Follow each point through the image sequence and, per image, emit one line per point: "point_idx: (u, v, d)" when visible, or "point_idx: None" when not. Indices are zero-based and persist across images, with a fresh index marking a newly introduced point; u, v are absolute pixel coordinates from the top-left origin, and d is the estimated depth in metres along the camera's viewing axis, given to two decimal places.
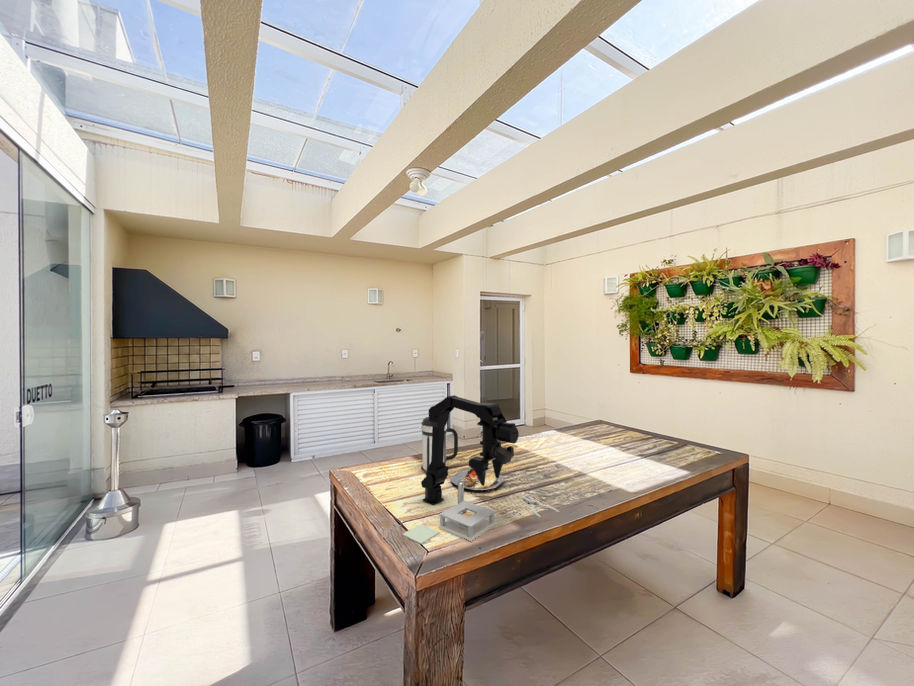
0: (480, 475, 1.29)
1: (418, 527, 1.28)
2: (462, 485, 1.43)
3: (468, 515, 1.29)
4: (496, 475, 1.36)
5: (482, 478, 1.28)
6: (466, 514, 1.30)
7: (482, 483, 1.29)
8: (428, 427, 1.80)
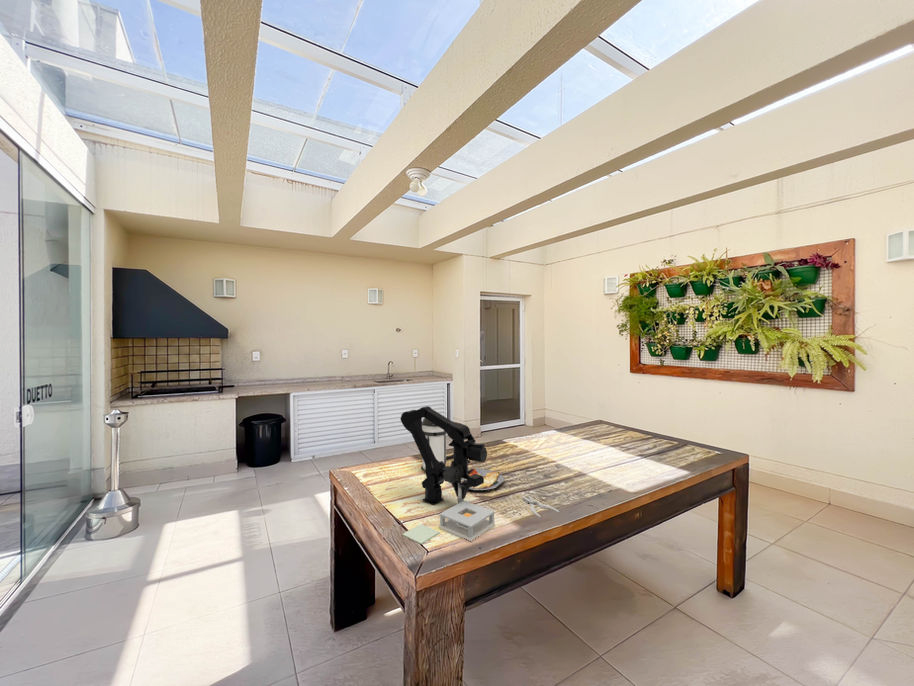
0: None
1: (418, 527, 1.28)
2: None
3: (468, 515, 1.29)
4: None
5: None
6: (466, 514, 1.30)
7: None
8: (428, 427, 1.80)
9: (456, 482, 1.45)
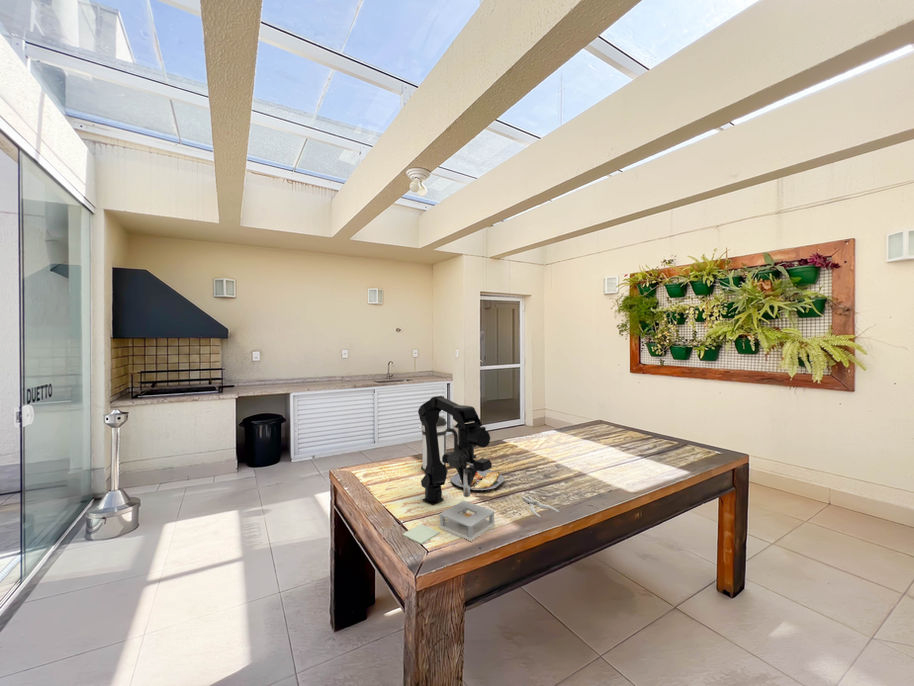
0: None
1: (418, 527, 1.28)
2: None
3: (468, 515, 1.29)
4: None
5: None
6: (466, 514, 1.30)
7: None
8: None
9: (461, 468, 1.34)
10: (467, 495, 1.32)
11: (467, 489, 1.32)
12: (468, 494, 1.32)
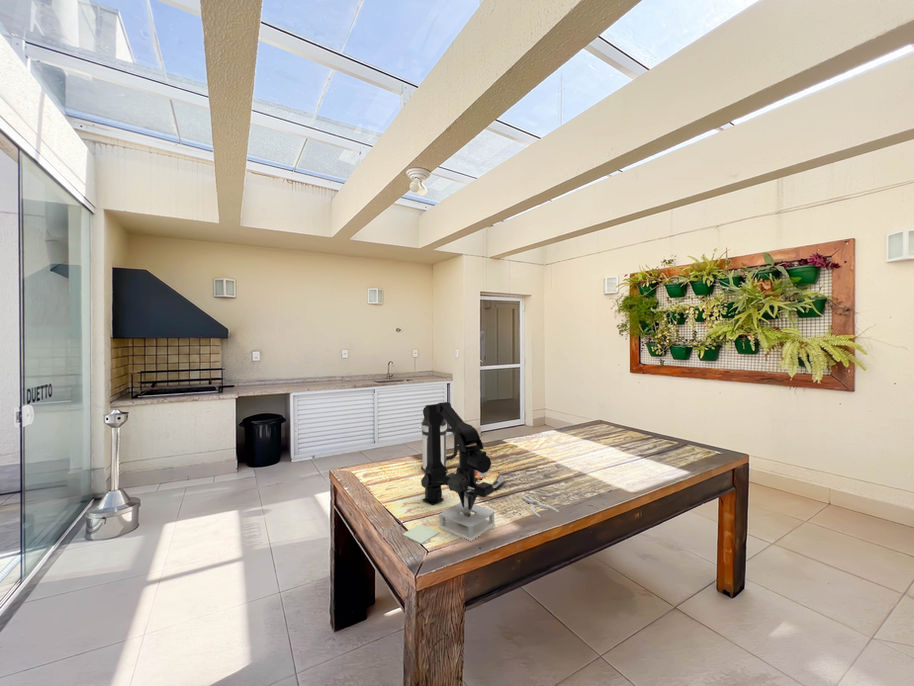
0: None
1: (418, 527, 1.28)
2: None
3: None
4: None
5: None
6: None
7: None
8: None
9: (462, 491, 1.30)
10: None
11: (468, 513, 1.29)
12: None
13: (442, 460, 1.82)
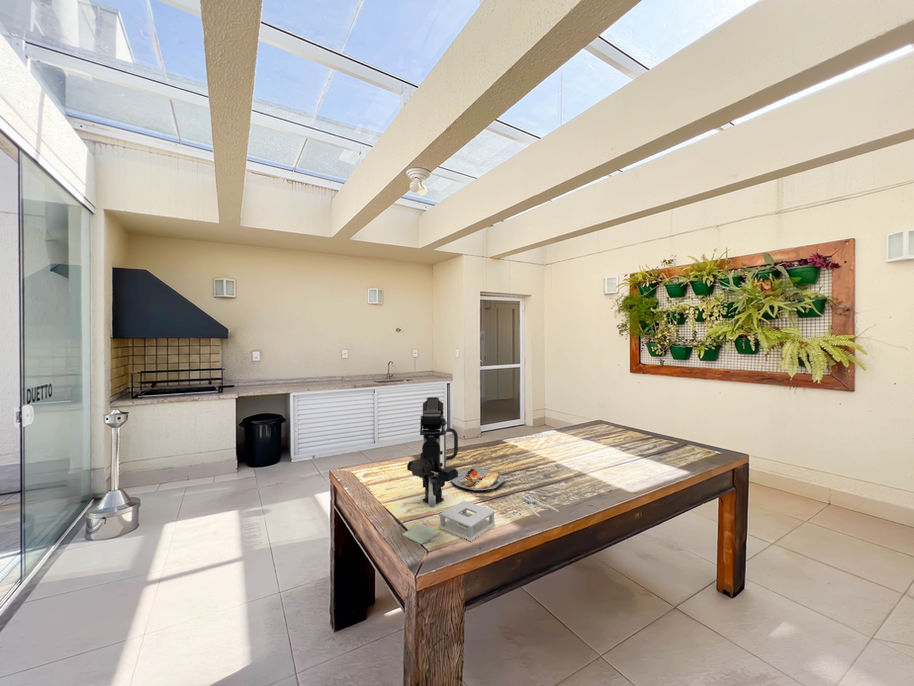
0: None
1: (418, 527, 1.28)
2: None
3: None
4: None
5: None
6: None
7: None
8: None
9: (427, 477, 1.26)
10: (432, 506, 1.24)
11: (432, 499, 1.24)
12: (433, 504, 1.25)
13: (442, 460, 1.82)
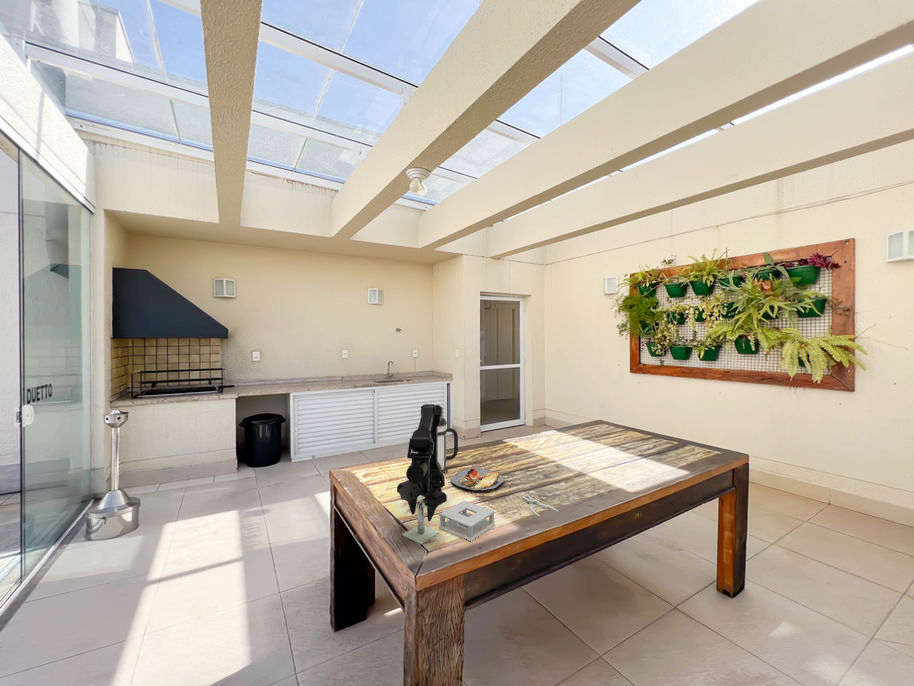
0: None
1: None
2: (422, 506, 1.24)
3: None
4: None
5: None
6: None
7: None
8: None
9: None
10: (421, 532, 1.23)
11: (421, 526, 1.24)
12: (422, 531, 1.24)
13: (442, 460, 1.82)
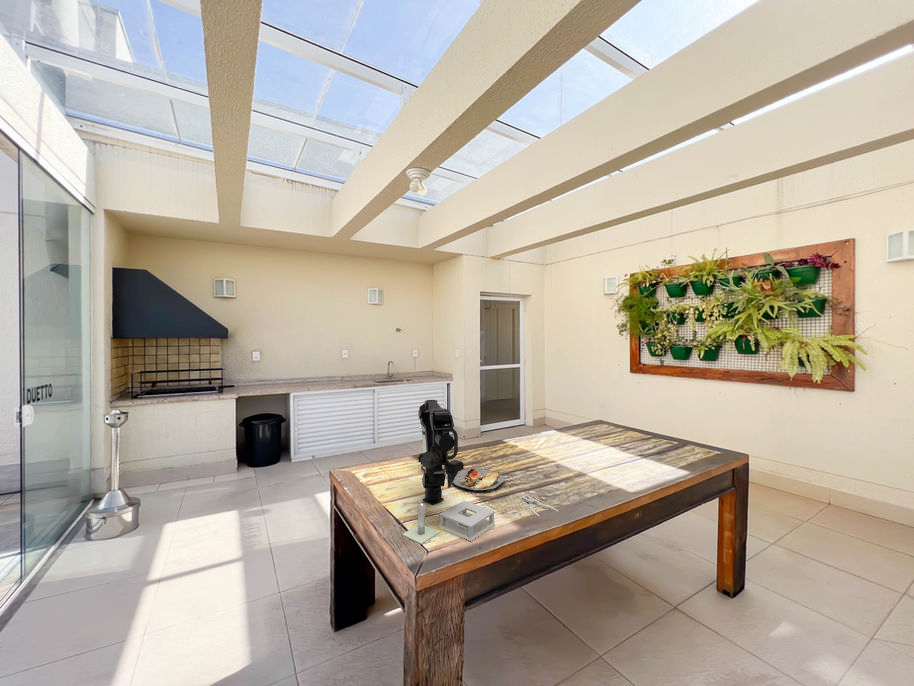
0: None
1: None
2: (423, 507, 1.24)
3: None
4: None
5: None
6: None
7: None
8: None
9: None
10: (421, 532, 1.23)
11: (421, 526, 1.23)
12: (422, 531, 1.24)
13: None
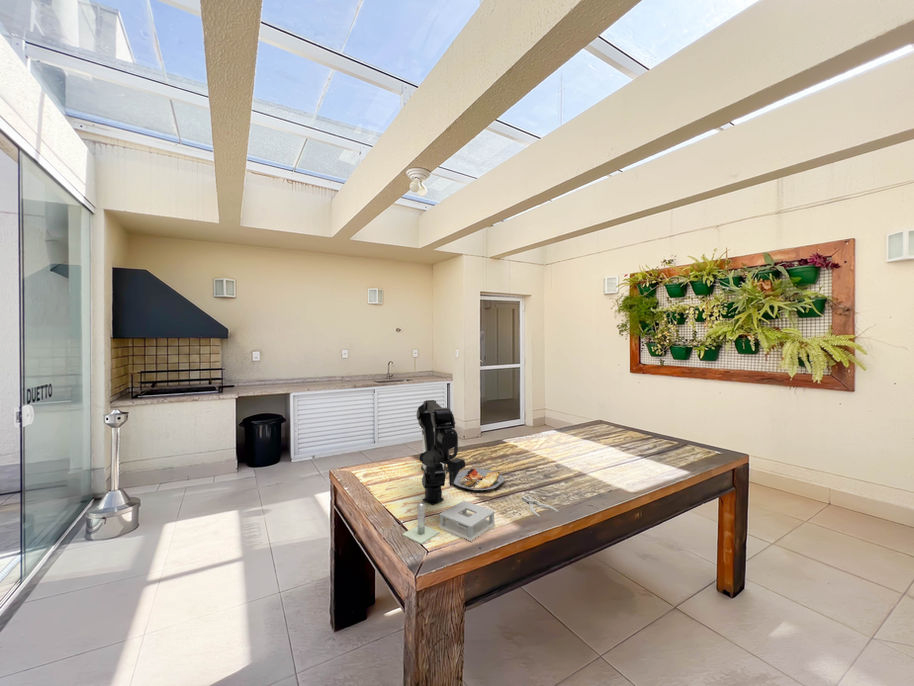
0: None
1: None
2: (423, 507, 1.24)
3: None
4: None
5: None
6: None
7: None
8: None
9: None
10: (421, 533, 1.23)
11: (421, 526, 1.23)
12: (422, 531, 1.24)
13: None
